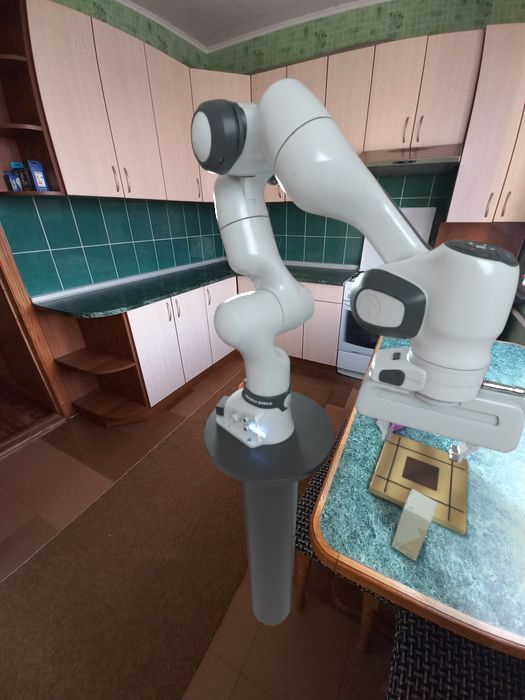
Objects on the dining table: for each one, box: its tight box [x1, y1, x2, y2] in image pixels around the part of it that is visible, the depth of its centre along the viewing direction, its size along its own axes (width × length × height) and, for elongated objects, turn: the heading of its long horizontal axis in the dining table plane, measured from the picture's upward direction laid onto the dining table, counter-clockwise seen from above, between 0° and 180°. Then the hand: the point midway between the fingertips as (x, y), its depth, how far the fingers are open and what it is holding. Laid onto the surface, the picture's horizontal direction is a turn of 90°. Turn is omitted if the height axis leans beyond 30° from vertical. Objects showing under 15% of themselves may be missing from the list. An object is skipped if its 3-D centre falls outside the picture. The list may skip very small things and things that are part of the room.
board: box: [368, 432, 468, 536], centre depth 67 cm, size 18×20×2 cm
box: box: [391, 489, 437, 561], centre depth 52 cm, size 5×4×11 cm
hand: (418, 448), depth 45 cm, fingers open, 8 cm apart
